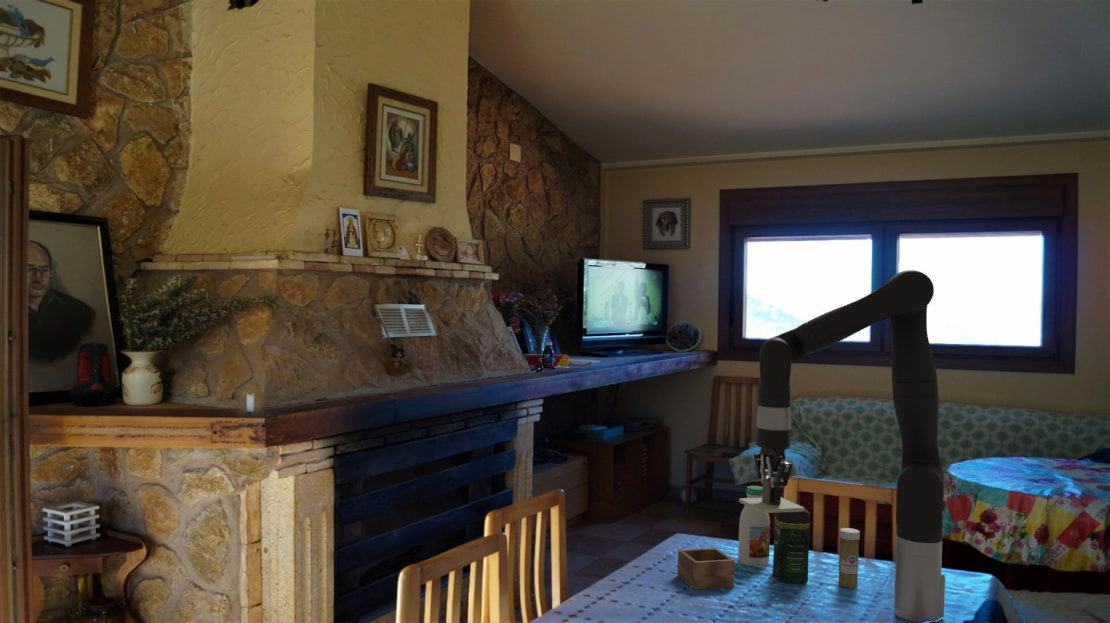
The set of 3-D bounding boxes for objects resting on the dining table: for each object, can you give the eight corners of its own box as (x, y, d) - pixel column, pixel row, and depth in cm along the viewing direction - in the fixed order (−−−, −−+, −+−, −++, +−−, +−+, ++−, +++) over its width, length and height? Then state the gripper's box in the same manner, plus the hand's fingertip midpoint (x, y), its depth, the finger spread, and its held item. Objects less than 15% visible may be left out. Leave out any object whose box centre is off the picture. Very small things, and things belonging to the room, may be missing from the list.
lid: (780, 500, 202) (780, 475, 202) (804, 511, 192) (805, 485, 192) (739, 501, 200) (739, 476, 199) (761, 513, 189) (762, 486, 189)
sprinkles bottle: (845, 589, 204) (847, 532, 204) (834, 583, 209) (835, 527, 208) (862, 587, 206) (863, 531, 205) (850, 581, 210) (851, 526, 210)
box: (715, 576, 211) (716, 548, 211) (733, 590, 202) (734, 560, 202) (677, 578, 209) (678, 550, 209) (694, 592, 199) (695, 562, 199)
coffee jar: (811, 587, 205) (814, 509, 205) (777, 586, 205) (780, 508, 205) (801, 574, 214) (804, 500, 214) (769, 573, 215) (772, 499, 215)
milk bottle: (736, 567, 219) (739, 488, 219) (739, 558, 226) (741, 482, 226) (768, 570, 217) (770, 491, 217) (769, 562, 224) (772, 485, 224)
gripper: (805, 430, 190) (802, 508, 190) (773, 421, 203) (770, 494, 204) (774, 431, 188) (771, 510, 188) (744, 421, 201) (741, 495, 202)
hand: (771, 501), depth 196 cm, fingers closed on lid, 3 cm apart
